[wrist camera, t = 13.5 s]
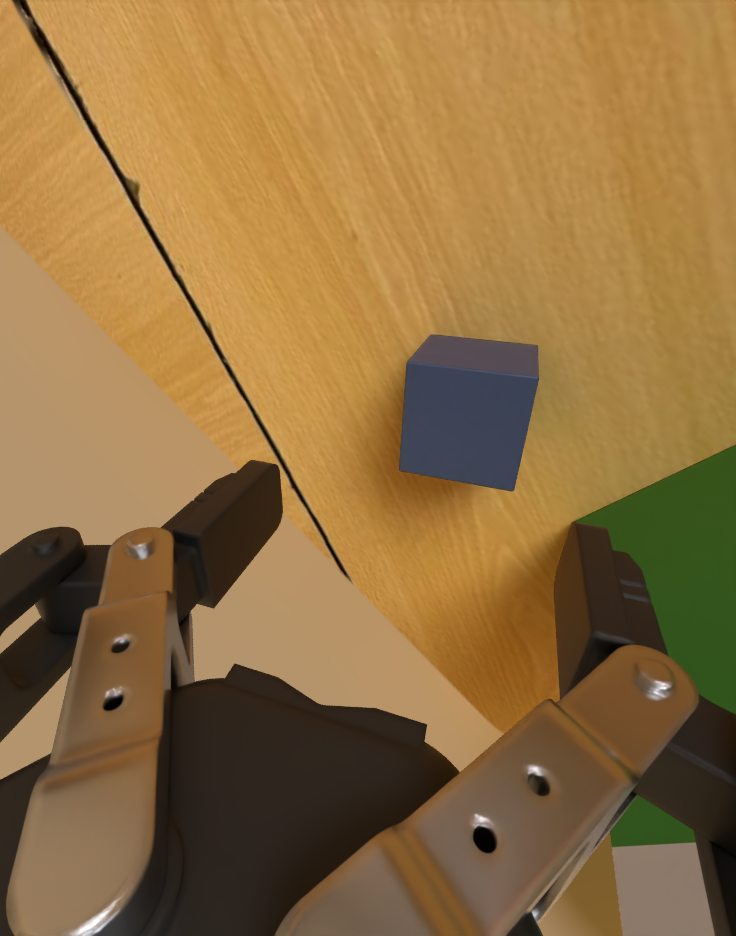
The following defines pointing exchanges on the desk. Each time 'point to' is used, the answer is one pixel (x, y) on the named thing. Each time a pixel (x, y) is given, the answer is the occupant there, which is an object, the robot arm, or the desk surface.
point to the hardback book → (696, 650)
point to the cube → (468, 410)
